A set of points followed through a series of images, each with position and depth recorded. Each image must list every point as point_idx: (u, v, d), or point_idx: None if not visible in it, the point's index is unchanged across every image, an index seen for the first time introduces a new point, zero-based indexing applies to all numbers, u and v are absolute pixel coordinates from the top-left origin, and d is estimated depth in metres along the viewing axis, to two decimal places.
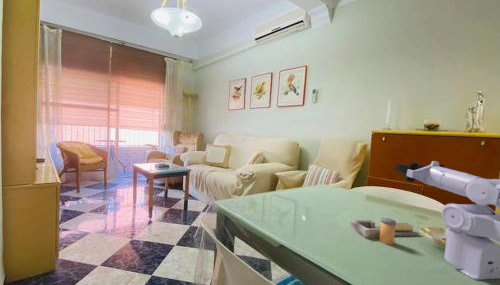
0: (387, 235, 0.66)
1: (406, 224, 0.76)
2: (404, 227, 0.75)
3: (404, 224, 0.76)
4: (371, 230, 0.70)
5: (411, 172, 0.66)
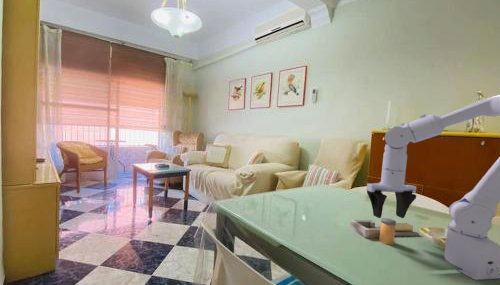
0: (388, 235, 0.66)
1: (406, 224, 0.76)
2: (404, 227, 0.75)
3: (404, 224, 0.76)
4: (371, 230, 0.70)
5: (368, 185, 0.66)
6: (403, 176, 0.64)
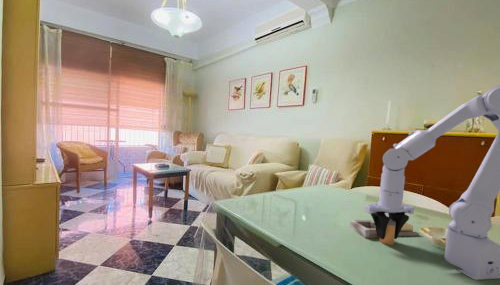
0: (387, 235, 0.66)
1: (406, 224, 0.76)
2: (404, 227, 0.75)
3: (404, 224, 0.76)
4: (371, 230, 0.70)
5: (366, 206, 0.66)
6: (401, 198, 0.65)
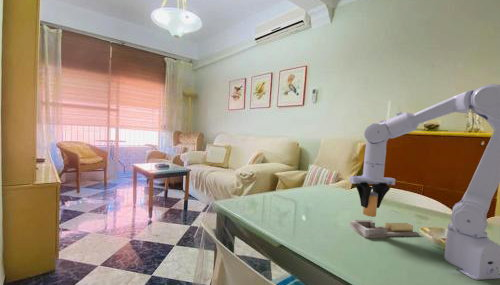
0: (370, 205, 0.72)
1: (406, 224, 0.76)
2: (404, 227, 0.75)
3: (404, 224, 0.76)
4: (371, 230, 0.70)
5: (350, 177, 0.72)
6: (382, 169, 0.70)
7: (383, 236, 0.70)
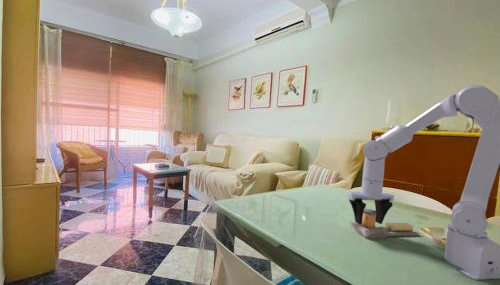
0: (369, 224, 0.72)
1: (406, 224, 0.76)
2: (404, 227, 0.75)
3: (404, 224, 0.76)
4: (371, 230, 0.70)
5: (349, 194, 0.72)
6: (380, 186, 0.70)
7: (383, 236, 0.70)
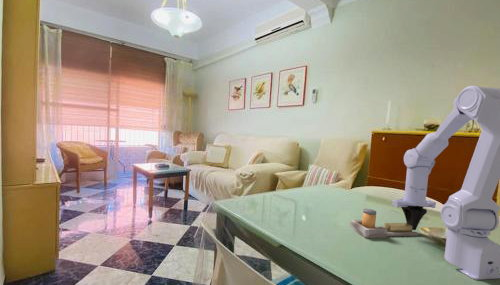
0: (369, 224, 0.72)
1: (405, 224, 0.76)
2: (403, 227, 0.75)
3: (404, 224, 0.76)
4: (371, 230, 0.70)
5: (393, 201, 0.75)
6: (425, 193, 0.74)
7: (383, 236, 0.70)
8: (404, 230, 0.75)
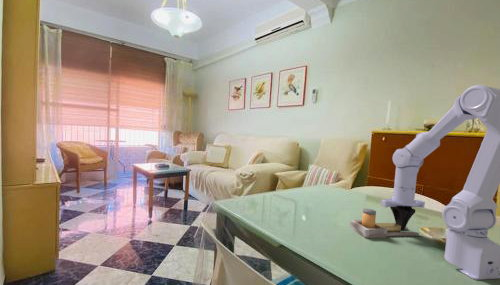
0: (369, 224, 0.72)
1: (394, 224, 0.75)
2: (392, 227, 0.74)
3: (392, 224, 0.75)
4: (371, 230, 0.70)
5: (382, 201, 0.74)
6: (413, 193, 0.73)
7: (383, 236, 0.70)
8: (392, 230, 0.74)
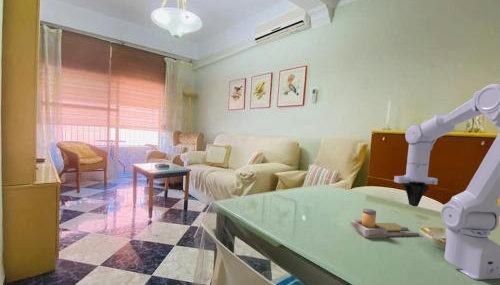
0: (369, 224, 0.72)
1: (394, 224, 0.75)
2: (392, 227, 0.74)
3: (392, 224, 0.75)
4: (371, 230, 0.70)
5: (395, 177, 0.75)
6: (427, 169, 0.73)
7: (383, 236, 0.70)
8: (392, 230, 0.74)
